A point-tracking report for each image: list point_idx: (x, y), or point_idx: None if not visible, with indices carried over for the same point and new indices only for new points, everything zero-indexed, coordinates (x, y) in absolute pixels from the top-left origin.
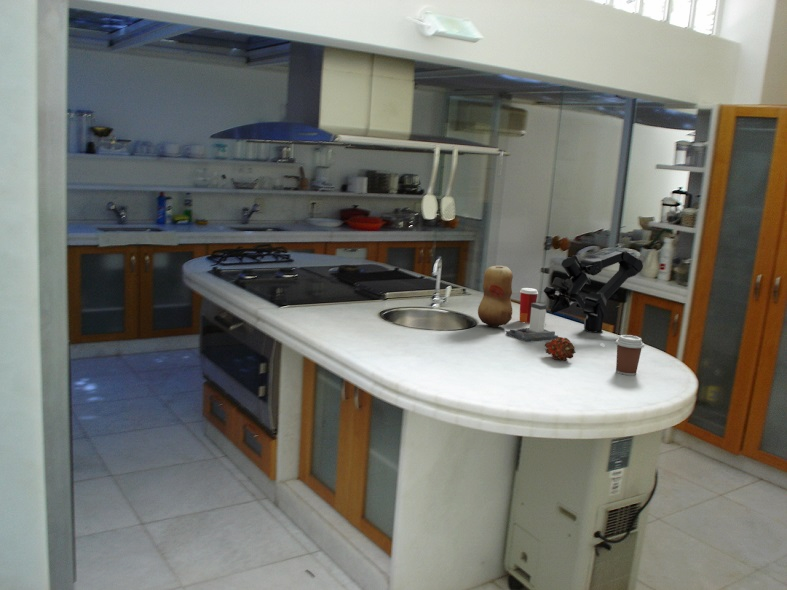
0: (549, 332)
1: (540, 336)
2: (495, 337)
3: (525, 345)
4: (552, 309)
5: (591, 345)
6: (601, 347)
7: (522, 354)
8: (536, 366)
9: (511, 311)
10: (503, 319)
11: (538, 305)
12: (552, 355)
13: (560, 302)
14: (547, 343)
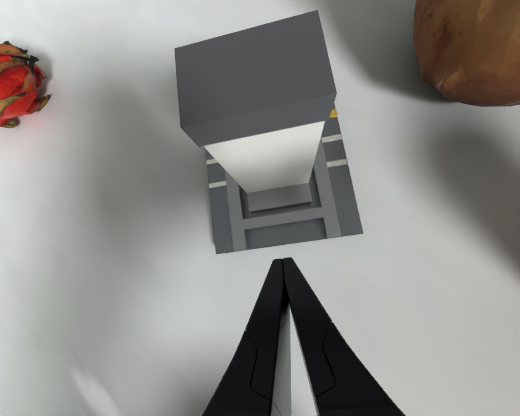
0: (230, 215)
1: (215, 159)
2: (281, 13)
3: (166, 73)
4: (279, 276)
5: (103, 335)
6: (70, 357)
7: (90, 23)
8: (2, 15)
9: (480, 44)
10: (414, 31)
11: (204, 42)
12: (46, 97)
13: (215, 395)
14: (8, 48)
